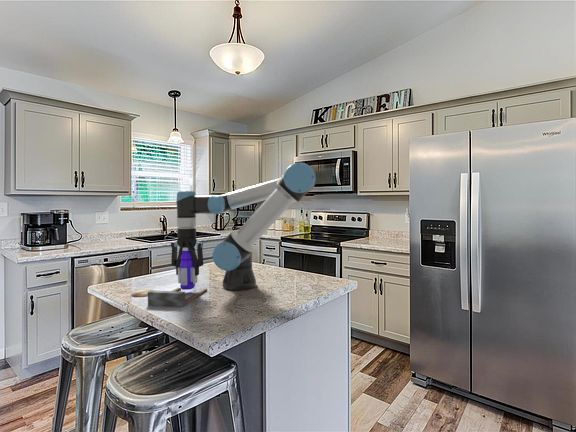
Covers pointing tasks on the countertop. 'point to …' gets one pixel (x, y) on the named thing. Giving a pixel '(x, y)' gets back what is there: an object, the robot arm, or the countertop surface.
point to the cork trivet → (140, 293)
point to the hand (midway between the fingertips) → (187, 282)
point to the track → (171, 298)
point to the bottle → (186, 270)
